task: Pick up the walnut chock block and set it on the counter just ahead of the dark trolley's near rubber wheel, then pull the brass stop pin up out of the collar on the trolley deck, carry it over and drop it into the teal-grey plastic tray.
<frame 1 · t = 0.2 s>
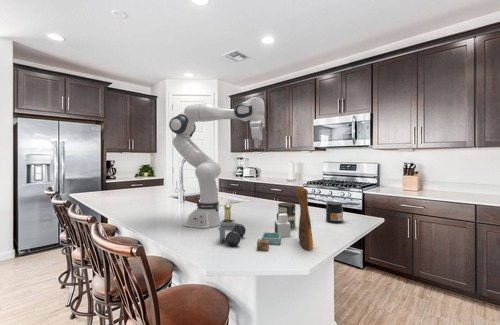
hand: (257, 147, 150), 48 cm above the counter, fingers open, 8 cm apart
brown wooden upright piece: (304, 244, 121), on the counter
pin: (227, 224, 127), point 8 cm above the counter, touching trolley
chock: (263, 249, 115), on the counter
tray: (271, 241, 125), on the counter
trolley: (229, 241, 126), on the counter
medicine bottle: (282, 235, 135), on the counter
supplement container: (334, 221, 161), on the counter
coffee can: (286, 228, 149), on the counter
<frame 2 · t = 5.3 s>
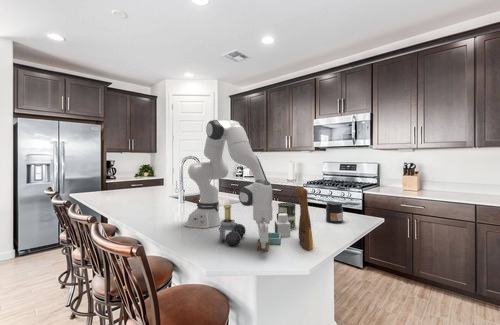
hand: (263, 245, 115), 2 cm above the counter, fingers closed on chock, 4 cm apart
chock: (263, 249, 115), on the counter, touching gripper
everything else where it was.
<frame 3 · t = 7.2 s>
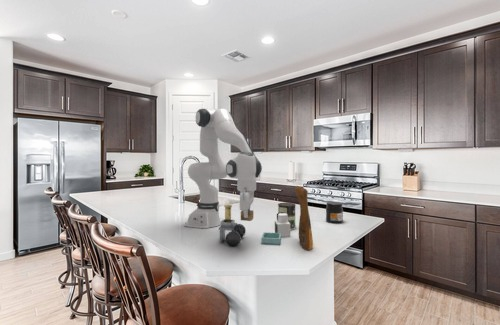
hand: (247, 215, 118), 15 cm above the counter, fingers closed on chock, 4 cm apart
chock: (247, 219, 118), point 13 cm above the counter, touching gripper
everything else where it was.
when the fingers open (3 cm above the counter, at t = 9.6 s): chock drops 1 cm, on the counter.
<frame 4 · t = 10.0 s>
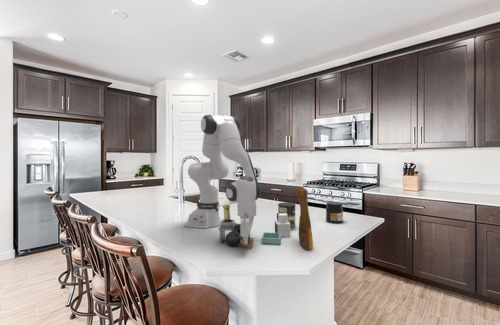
hand: (247, 240, 118), 3 cm above the counter, fingers open, 8 cm apart
chock: (247, 247, 118), on the counter
everything else where it was.
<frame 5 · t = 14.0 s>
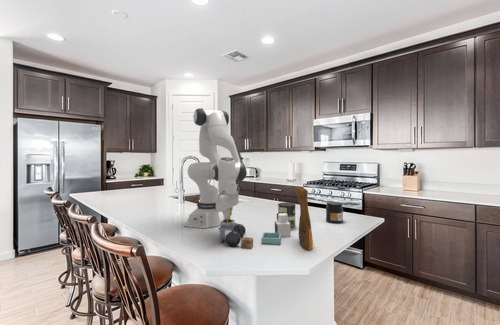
hand: (227, 216, 127), 12 cm above the counter, fingers closed on pin, 3 cm apart
pin: (227, 224, 127), point 8 cm above the counter, touching gripper, trolley
everything else where it was.
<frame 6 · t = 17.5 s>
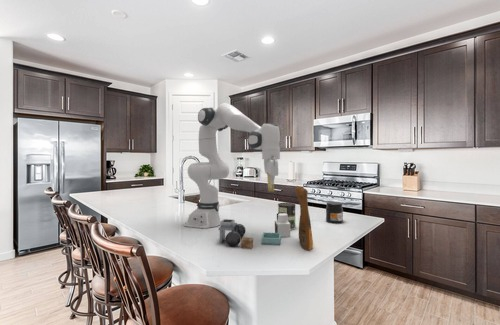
hand: (271, 183, 124), 29 cm above the counter, fingers closed on pin, 3 cm apart
pin: (271, 191, 125), point 25 cm above the counter, touching gripper
everything else where it was.
when the fingers open (7 cm above the counter, at t = 21.3 s): pin drops 2 cm, resting on tray.
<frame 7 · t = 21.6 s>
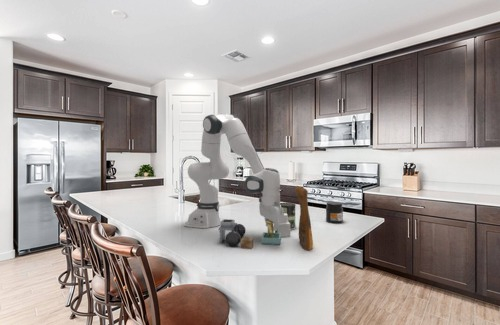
hand: (271, 228, 125), 7 cm above the counter, fingers open, 6 cm apart
pin: (271, 239, 125), point 1 cm above the counter, touching tray
everything else where it was.
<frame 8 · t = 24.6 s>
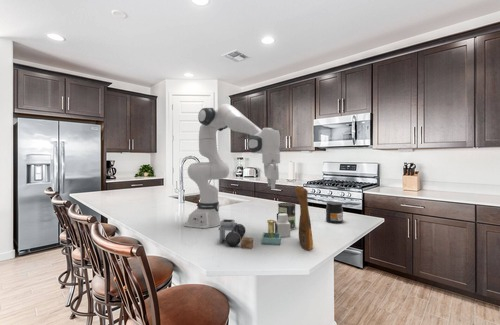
hand: (271, 187, 124), 27 cm above the counter, fingers open, 8 cm apart
nothing on the counter moved.
at the end: chock 0.2 cm from the target spot on the counter beside the trolley, on the counter; pin inside the target area on the tray (0.1 cm from its centre), point 0.6 cm above the tray's base; the gripper is holding nothing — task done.
